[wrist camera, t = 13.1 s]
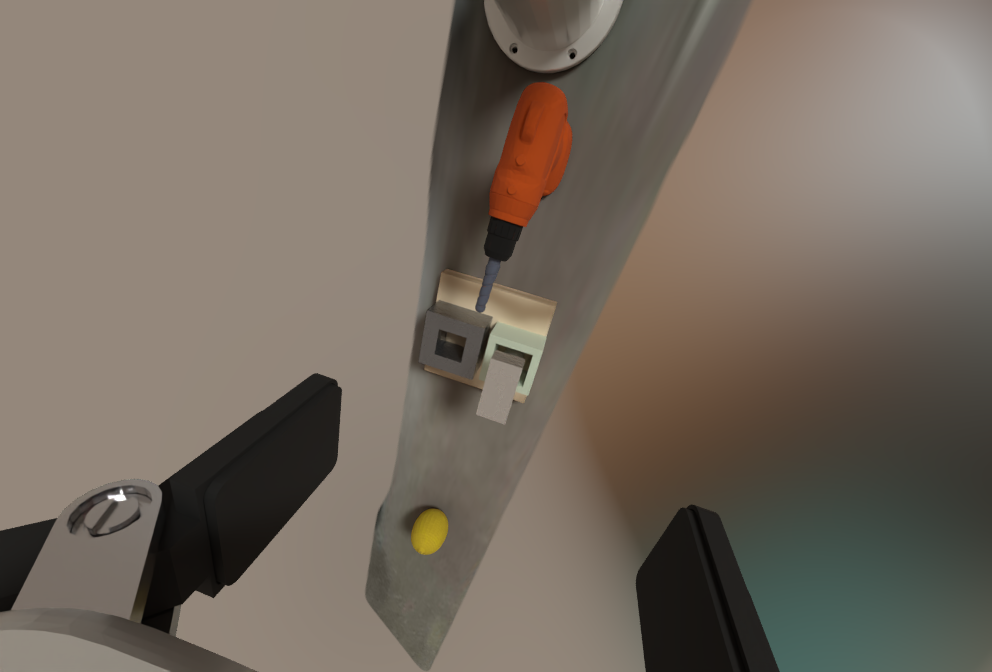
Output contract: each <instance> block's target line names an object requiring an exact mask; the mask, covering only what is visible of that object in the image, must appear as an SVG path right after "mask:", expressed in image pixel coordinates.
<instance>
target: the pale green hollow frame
mask: <svg viewBox="0 0 992 672" xmlns="http://www.w3.org/2000/svg"><path fill="white" fill-rule="evenodd" d="M546 338H547V337H546V336H542V335H539V334H536V333H533V332H530V331H526V330H523V329H520V328H517V327H514V326H511V325H507V324H504V323H501V322H497V324H496V325H495V327H494V328H493V330H492V332H491V333H490V336H489V340H488V344H487V348H486V352H485V356H484V360H483V364H482V368H481V371H480V375H479V380H482V381H485V379H486V375H487V371H488V368H489V364H490V360H491V357H492V355H493V354H494V352H495V350H498V347H499V345H503V346H506V347H509V348H512V349H515V350H518V351H521V352H524V353H527V354H531V355H533V356H532V360H531V363H530V366H529V369H528V371H526V370H523V369H522V373H521V376H520V379H519V382H518V385H517V389H516V392H518V393H521V394H524V395H527V396H528V395H529V392H530V389H531V386H532V383H533V380H534V377H535V374H536V371H537V368H538V365H539V362H540V359H541V356H542V353H543V349H544V345H545V342H546Z"/></svg>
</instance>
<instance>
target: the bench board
mask: <svg viewBox="0 0 992 672" xmlns="http://www.w3.org/2000/svg"><path fill="white" fill-rule="evenodd" d="M482 282H483V279H480V278H476V277H473V276H470V275H466V274H463V273H460V272H456V271H453V270H450V269H446V270H444V271H443V272H441V277H440V283H439V288H438V294H437V300H436V302H438V301H439V300H441V301H444V302H448V303H451V304H454V305H457V306H460V307H463V308H467V309H470V310H473V311H476V310H475V305H476V303H477V299H478V297H479V292H480V289H481V287H482ZM556 304H557V302H555V301H552V300H549V299H545V298H542V297H539V296H536V295H532V294H529V293H526V292H522V291H519V290H516V289H512V288H509V287H506V286H503V285H499V284H496V283H493V287H492V290H491V293H490V296H489V299H488V302H487V304H486V305H485V306H486V308H485V311H484V312H482V313H483V314H486V315H489V316H492V317H493V319H492V323H491V327H490V331H489V335H488V339H487V343H486V347H485V351H484V355H483V359H482V362H481V366H480V367H479V369H478V371H477V373H476V375H475V376H474V378H473V380H470V379H467V378H464V377H461V376H458V375H455V374H452V373H449V372H446V371H443V370H440V369H437V368H434V367H431V366H428V365H425V367H424V370H426V371H429V372H432V373H435V374H438V375H441V376H444V377H447V378H450V379H453V380H456V381H459V382H462V383H465V384H468V385H471V386H474V387H477V388H480V389H483V387H484V383H485V381H482V380H479V375H480V371H481V368H482V364H483V360H484V356H485V352H486V348H487V344H488V340H489V336H490V333H491V332H492V330H493V328H494V327H495V325H496V324H497V322H501V323H504V324H507V325H511V326H514V327H517V328H520V329H523V330H526V331H530V332H533V333H536V334H539V335H542V336H546V335H547V332H548V329H549V326H550V323H551V320H552V317H553V314H554V311H555V308H556ZM476 312H477V311H476ZM466 339H467V338H465V337H462V336H459V335H456V334H453V333H450V332H447V337H446V341H448V342H451V343H454V344H457V345H460V346H463V347H465V344H466ZM506 348H507V347H506V346H503V345H499V347H498V351H501V352H505V350H506ZM532 356H533V355H531V354H527V353H525V355H524V358H523V359H526V360H525V363H524V366H523V370H526V371H528V369H529V366H530V363H531V360H532ZM526 396H527V395H524V394H521V393H518V392H515V395H514V398H513V400H516V401H518V402H521V403H524V402H525V399H526Z"/></svg>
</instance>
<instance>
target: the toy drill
mask: <svg viewBox="0 0 992 672" xmlns="http://www.w3.org/2000/svg"><path fill="white" fill-rule="evenodd" d="M567 116H568V107H567V100H566V97H565V94H564V93H563V92H562V91H561V90H560V89H559V88H557V87H556V86H554V85H552V84H549V83H545V82H538V83H533V84H530V85H529V86H527V87H526V88H525V89H524V91H523V93H522V95H521V97H520V99H519V101H518V104H517V107H516V110H515V113H514V116H513V118H512V121H511V125H510V128H509V131H508V134H507V138H506V141H505V145H504V148H503V152H502V156H501V159H500V162H499V164H498V166H497V168H496V171H495V174H494V178H493V182H492V185H491V189H490V210H489V215H491V219H490V222H489V226H488V230H487V231H488V235H487V238H486V241H485V245H484V250H485V255H487V256H488V257H490V258H489V261H488V264H487V265H486V270H485V276H484V279H483V282H482V287H481V289H480V292H479V297H478V299H477V303H476V305H475V310H476V311H477V312H479V313H482V312H484V311H485V308H486V306H485V305H486V304H487V302H488V299H489V296H490V293H491V290H492V287H493V283H494V281H495V279H496V276H497V273H498V271H499V268H500V262H501V261H507V260H508V259H509V258H510V257H511V256H512V253H513V250H514V247H515V244H516V241H518V240H519V237H520V234H521V231H522V228H523V226H524V227H526V226H527V224H528V221H529V220H530V219H531V217H532V216H533V214H534V213H535V211H536V210H537V207H538V205H539V203H540V200H541V197H542V196H546V195H548V194H551V193H552V192H553V191H554V190H555V189H556V188H557V187H558V185H559V183H560V181H561V179H562V176H563V174H564V171H565V168H566V165H567V162H568V158H569V154H570V150H571V145H572V131H571V127H570V125H569V124H568V122H567Z"/></svg>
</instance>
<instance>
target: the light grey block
mask: <svg viewBox="0 0 992 672" xmlns="http://www.w3.org/2000/svg"><path fill="white" fill-rule="evenodd" d="M524 355H525V353H524V352H521V351H518V350H515V349H512V348H509V347H507V348H506V350H505V352H501V351H498V350H495V352H494V354H493V355H492V357H491V360H490V364H489V368H488V371H487V375H486V379H485V383H484V387H483V390H482V394H481V398H480V402H479V405H478V409H477V413H476V415H479V416H482V417H485V418H487V419H490V420H493V421H496V422H499V423H502V424H505V423H506V420H507V417H508V414H509V411H510V408H511V405H512V401H513V398H514V395H515V392H516V389H517V385H518V382H519V379H520V376H521V373H522V369H523V366H524V363H525V360H526V359H523V358H524Z"/></svg>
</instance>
